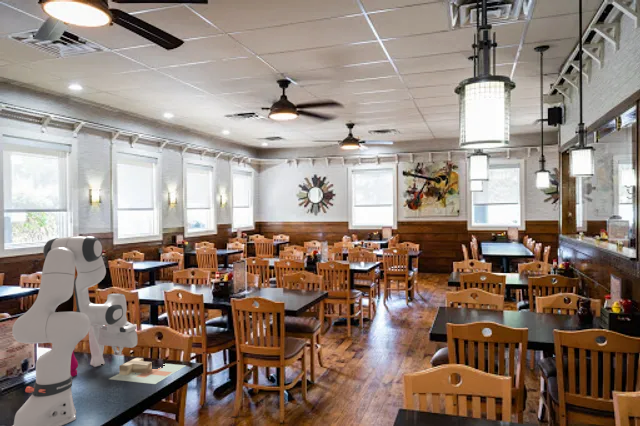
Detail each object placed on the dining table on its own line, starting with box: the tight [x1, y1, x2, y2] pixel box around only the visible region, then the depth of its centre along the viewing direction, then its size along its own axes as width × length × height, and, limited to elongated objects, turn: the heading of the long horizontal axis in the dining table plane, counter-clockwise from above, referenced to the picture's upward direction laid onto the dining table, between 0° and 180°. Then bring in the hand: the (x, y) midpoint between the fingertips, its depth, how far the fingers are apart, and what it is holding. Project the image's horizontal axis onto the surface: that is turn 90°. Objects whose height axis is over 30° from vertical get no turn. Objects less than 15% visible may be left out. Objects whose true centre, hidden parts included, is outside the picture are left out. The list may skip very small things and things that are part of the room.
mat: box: [108, 363, 187, 385], centre depth 211 cm, size 24×25×1 cm
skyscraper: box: [88, 325, 106, 368], centre depth 224 cm, size 8×7×28 cm
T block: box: [118, 357, 153, 375], centre depth 213 cm, size 12×12×4 cm
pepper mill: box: [70, 347, 79, 378], centre depth 209 cm, size 7×7×20 cm
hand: (117, 354), depth 216 cm, fingers closed
